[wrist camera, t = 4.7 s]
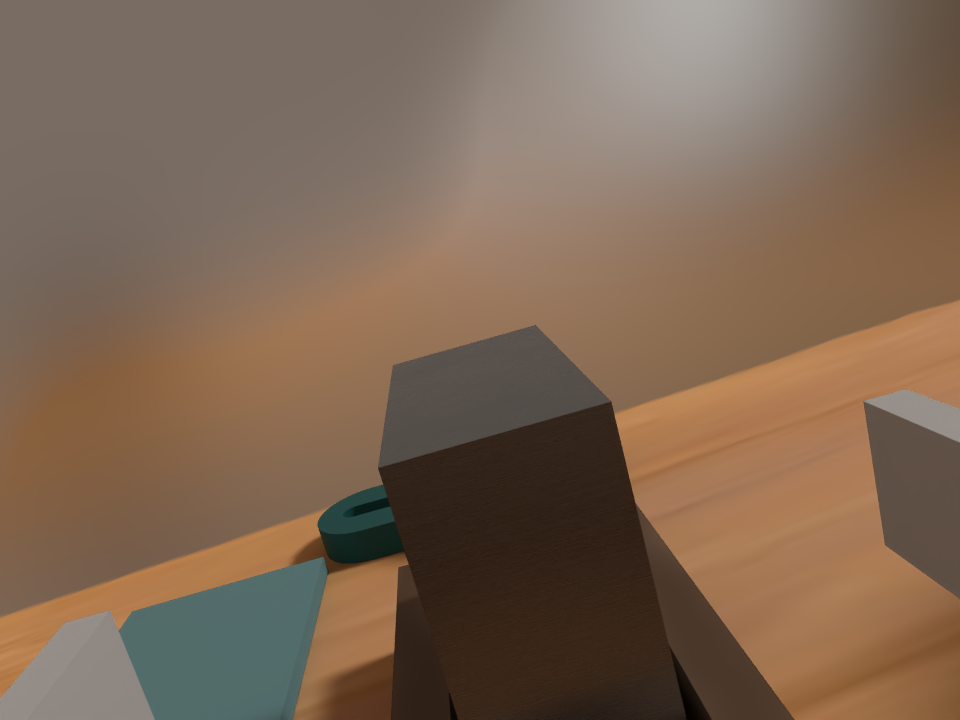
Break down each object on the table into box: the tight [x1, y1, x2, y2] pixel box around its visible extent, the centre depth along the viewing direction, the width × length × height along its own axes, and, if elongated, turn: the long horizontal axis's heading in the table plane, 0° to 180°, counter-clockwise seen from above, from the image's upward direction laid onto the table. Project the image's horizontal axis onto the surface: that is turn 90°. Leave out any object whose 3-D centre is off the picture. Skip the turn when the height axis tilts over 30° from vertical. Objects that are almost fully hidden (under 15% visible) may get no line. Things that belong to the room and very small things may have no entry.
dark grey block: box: [378, 325, 687, 720], centre depth 26 cm, size 6×12×14 cm, turn 5°
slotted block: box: [391, 503, 794, 720], centre depth 27 cm, size 12×18×4 cm, turn 5°
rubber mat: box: [119, 557, 328, 720], centre depth 37 cm, size 12×17×1 cm
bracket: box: [318, 485, 404, 563], centre depth 48 cm, size 18×7×8 cm, turn 94°
